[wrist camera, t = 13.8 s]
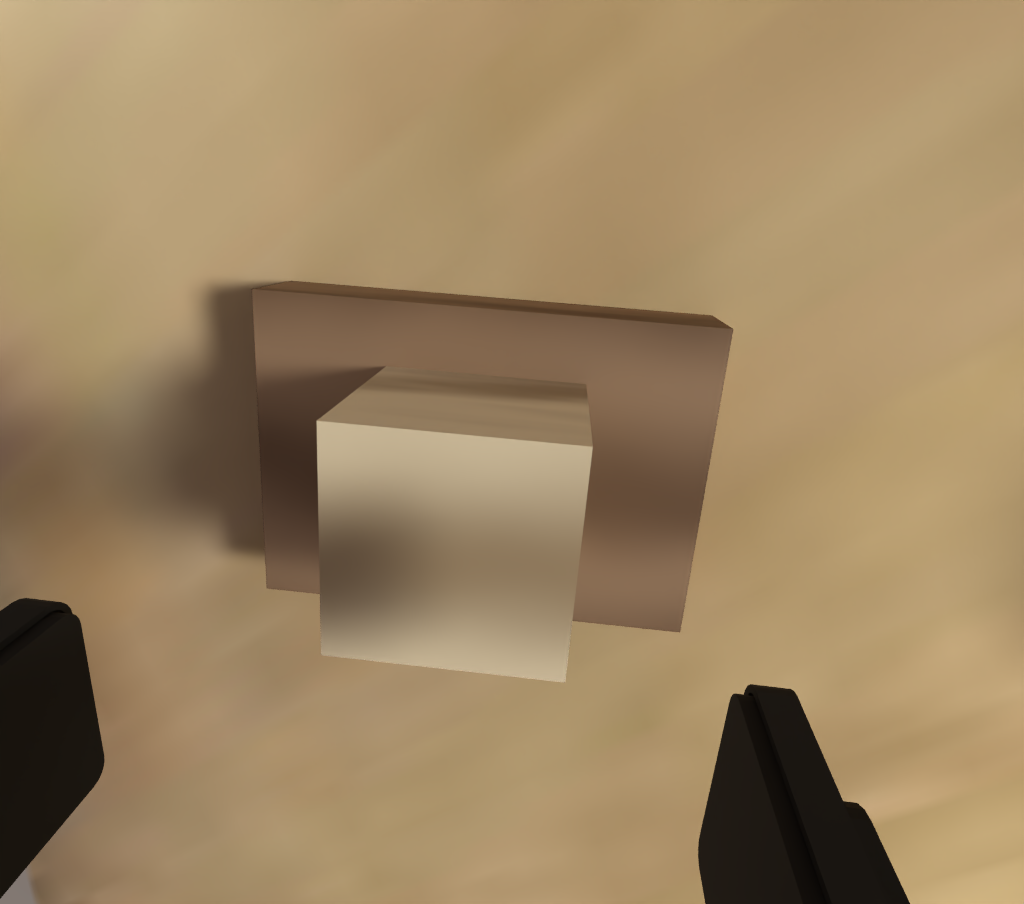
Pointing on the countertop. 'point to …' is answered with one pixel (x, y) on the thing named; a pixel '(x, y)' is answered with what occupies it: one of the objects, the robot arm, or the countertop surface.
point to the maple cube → (453, 521)
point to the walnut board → (518, 354)
